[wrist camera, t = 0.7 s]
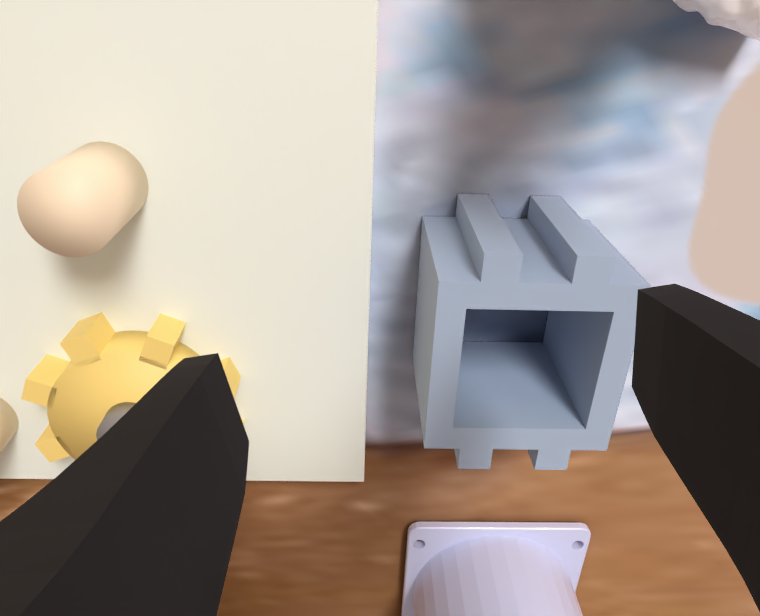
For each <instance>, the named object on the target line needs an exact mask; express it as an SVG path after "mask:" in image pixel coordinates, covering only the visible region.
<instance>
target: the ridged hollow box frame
mask: <svg viewBox="0 0 760 616" xmlns="http://www.w3.org/2000/svg"><path fill="white" fill-rule="evenodd" d="M650 286H651V285H650V284H649V283H648V282H647V281H646V280H645V279H644V278H643V277H642V276H641V275H640V274H639V273H638V272H637V271H636V269H635V268H634V267H633V266H632V265H631V264H630V263H629V262H628V261H627V260H626V259H625V258H624V257H623V256H622V255H621V254H620V253H619V251H618V250H617V249H616V248H615V247H614V246H613V245H612V244H611V243H610V242H609V241H608V240H607V239H606V238H605V237H604V236H603V234H602V233H601V232H600V231H599V230H598V229H597V228H596V227H595V226H594V225H593V224H592V223H591V222H590V221H589V220H582V219H581V218H580V217H579V216H578V215H577V213H576V212H575V211H574V210H573V209H572V208H571V207H570V206H569V205H568V204H567V203H566V201H565V200H564V199H563V198H562V197H561V196H530V203H529V209H528V216H527V219H519V218H502V217H501V215H500V214H499V212H498V210H497V209H496V207H495V205H494V203H493V202H492V200H491V198H490V197H489V195H488V194H458V196H457V207H456V217H438V216H422V230H421V244H420V259H419V273H418V287H417V301H416V316H415V330H414V344H413V358H412V359H413V367H414V374H415V382H416V390H417V397H418V405H419V413H420V420H421V428H422V436H423V444H424V448H437V449H454V452H455V457H456V462H457V467H458V469H490V465H491V459H492V452H493V449H528V452H529V455H530V458H531V461H532V464H533V466H534V469H535V470H566V469H567V465H568V461H569V457H570V452H571V450H607V447H608V443H609V439H610V436H611V432H612V428H613V424H614V421H615V417H616V413H617V410H618V406H619V402H620V398H621V395H622V391H623V387H624V383H625V380H626V376H627V372H628V368H629V365H630V361H631V357H632V354H633V350H634V344H635V328H636V312H637V296H638V289H644V288H650ZM466 309H495V310H546V311H549V312H548V317H547V322H546V328H545V333H544V339H543V343H540V342H483V341H463V334H464V325H465V316H466Z"/></svg>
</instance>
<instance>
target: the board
mask: <svg viewBox="0 0 760 616" xmlns="http://www.w3.org/2000/svg"><path fill="white" fill-rule="evenodd" d="M377 26H378V0H0V479H55V478H56V477H57V476H58V475H59V474H60V473H61V472H63V471H64V470H65V469H66V468H67V467H68V466H69V465H70V464H71V463H73V462H74V461H75V460H76V459H77V458H78V457H79V456H80V455H82V454H83V453H84V452H85V451H86V450H87V449H88V448H89V447H90V446H92V445H93V444H94V443H95V442H96V441H97V440H98V439H99V438H101V437H102V436H103V435H104V434H105V433H106V432H107V431H108V430H109V429H110V428H111V427H112V426H113V425H114V424H115V423H116V422H117V421H118V420H119V419H120V418H121V417H122V416H124V415H125V414H126V413H127V412H128V411H129V410H130V409H131V408H132V407H133V406H134V405H135V404H136V403H137V402H138V401H139V400H140V399H141V398H142V397H143V396H144V395H145V394H146V393H147V392H148V391H149V390H150V389H151V388H152V387H153V386H154V385H155V384H156V383H157V382H158V381H159V380H160V379H161V378H162V377H163V376H165V375H166V374H167V373H168V372H169V371H170V370H171V369H172V368H173V367H174V366H175V365H176V364H178V363H179V362H180V361H181V360H183V359H184V358H189V357H196V356H202V355H209V354H215V353H218V354H219V357H220V360H221V363H222V366H223V369H224V371H225V374H226V377H227V380H228V383H229V386H230V388H231V391H232V394H233V397H234V400H235V403H236V405H237V408H238V411H239V414H240V417H241V419H242V422H243V425H244V428H245V431H246V434H247V436H248V439H249V451H248V464H247V475H246V481H342V482H364V464H365V430H366V397H367V363H368V329H369V296H370V262H371V228H372V195H373V161H374V127H375V94H376V60H377Z"/></svg>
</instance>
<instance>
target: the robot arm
mask: <svg viewBox="0 0 760 616" xmlns="http://www.w3.org/2000/svg"><path fill="white" fill-rule="evenodd" d="M632 388H633V390H634V393H635V395H636V397H637V399H638V402H639V404H640V406H641V409H642V411H643V413H644V415H645V418H646V420H647V422H648V424H649V426H650V428H651V430H652V432H653V434H654V436H655V438H656V440H657V441H658V443H659V445H660V446H661V448H662V450H663V451H664V453H665V454H666V456H667V457H668V459H669V461H670V462H671V464H672V465H673V467H674V469H675V470H676V472H677V473H678V475H679V477H680V478H681V480H682V481H683V483H684V484H685V486H686V487H687V489H688V491H689V492H690V494H691V495H692V497H693V498H694V500H695V501H696V503H697V505H698V506H699V508H700V509H701V511H702V512H703V514H704V516H705V517H706V519H707V520H708V522H709V523H710V525H711V526H712V528H713V530H714V531H715V533H716V534H717V536H718V537H719V539H720V541H721V542H722V544H723V545H724V547H725V548H726V550H727V552H728V553H729V555H730V557H731V559H732V560H733V562H734V564H735V565H736V567H737V569H738V571H739V572H740V574H741V576H742V578H743V579H744V581H745V583H746V585H747V587H748V589H749V591H750V593H751V595H752V597H753V599H754V601H755V603H756V605H757V607H758V609H759V611H760V320H757V319H755V318H753V317H751V316H749V315H746V314H744V313H742V312H740V311H738V310H736V309H733V308H731V307H729V306H727V305H725V304H722V303H720V302H718V301H716V300H714V299H711V298H709V297H707V296H705V295H702V294H700V293H698V292H695V291H693V290H690V289H688V288H685V287H682V286H680V285H677V284H671V285H664V286H657V287H651V288H644V289H638V296H637V312H636V328H635V344H634V360H633V376H632ZM248 451H249V439H248V436H247V434H246V431H245V428H244V425H243V422H242V419H241V417H240V414H239V411H238V408H237V405H236V403H235V400H234V397H233V394H232V391H231V388H230V386H229V383H228V380H227V377H226V374H225V371H224V369H223V366H222V363H221V360H220V357H219V354H218V353H215V354H209V355H202V356H196V357H189V358H184V359H183V360H181V361H180V362H179V363H178V364H176V365H175V366H174V367H173V368H172V369H171V370H170V371H169V372H168V373H167V374H166V375H165V376H163V377H162V378H161V379H160V380H159V381H158V382H157V383H156V384H155V385H154V386H153V387H152V388H151V389H150V390H149V391H148V392H147V393H146V394H145V395H144V396H143V397H142V398H141V399H140V400H139V401H138V402H137V403H136V404H135V405H134V406H133V407H132V408H131V409H130V410H129V411H128V412H127V413H126V414H125V415H124V416H122V417H121V418H120V419H119V420H118V421H117V422H116V423H115V424H114V425H113V426H112V427H111V428H110V429H109V430H108V431H107V432H106V433H105V434H104V435H103V436H102V437H101V438H99V439H98V440H97V441H96V442H95V443H94V444H93V445H92V446H90V447H89V448H88V449H87V450H86V451H85V452H84V453H83V454H82V455H80V456H79V457H78V458H77V459H76V460H75V461H74V462H73V463H71V464H70V465H69V466H68V467H67V468H66V469H65V470H64V471H63V472H61V473H60V474H59V475H58V476H57V477H56V478H55V479H54V480H52V481H51V482H50V483H49V484H48V485H46V486H45V487H44V488H43V489H42V490H40V491H39V492H38V493H37V494H35V495H34V496H33V497H32V498H30V499H29V500H28V501H27V502H25V503H24V504H23V505H21V506H20V507H19V508H18V509H16V510H15V511H14V512H12V513H11V514H10V515H8V516H7V517H6V518H4V519H3V520H2V521H1V522H0V616H216V615H217V611H218V606H219V602H220V598H221V594H222V589H223V585H224V581H225V577H226V572H227V568H228V564H229V560H230V555H231V551H232V547H233V543H234V538H235V534H236V530H237V525H238V521H239V516H240V512H241V508H242V503H243V498H244V494H245V485H246V475H247V464H248ZM590 537H591V533H590V530H589V528H588V526H587V525H586V524H584V523H569V522H415V523H413V524H411V525H410V526H409V528H408V535H407V548H406V561H405V574H404V586H403V599H402V612H401V616H583V615H582V612H581V609H580V606H579V603H578V600H577V597H576V594H575V591H576V588H577V584H578V580H579V577H580V573H581V569H582V566H583V562H584V559H585V555H586V551H587V548H588V544H589V540H590ZM417 540H422V541H417ZM575 541H577V542H575Z"/></svg>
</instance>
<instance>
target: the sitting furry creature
mask: <svg viewBox="0 0 760 616" xmlns="http://www.w3.org/2000/svg"><path fill="white" fill-rule="evenodd" d="M673 1H674V2H675V3H676V4H677V5H678V6H679V7H680V8H682V9H683V10H685V11H687V12H692V11H698V12H699V13H700V14H701V15H702V16H703V17H704V18H705V20H706V22H707V23H708V24H711V25H713V26H715V25H719V26H723V27H726V28H729V29H732V30H735V31H738V32H739V33H741V34H742V35H745V36H747V37H750V38H753V39H757V40H760V0H673Z"/></svg>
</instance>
